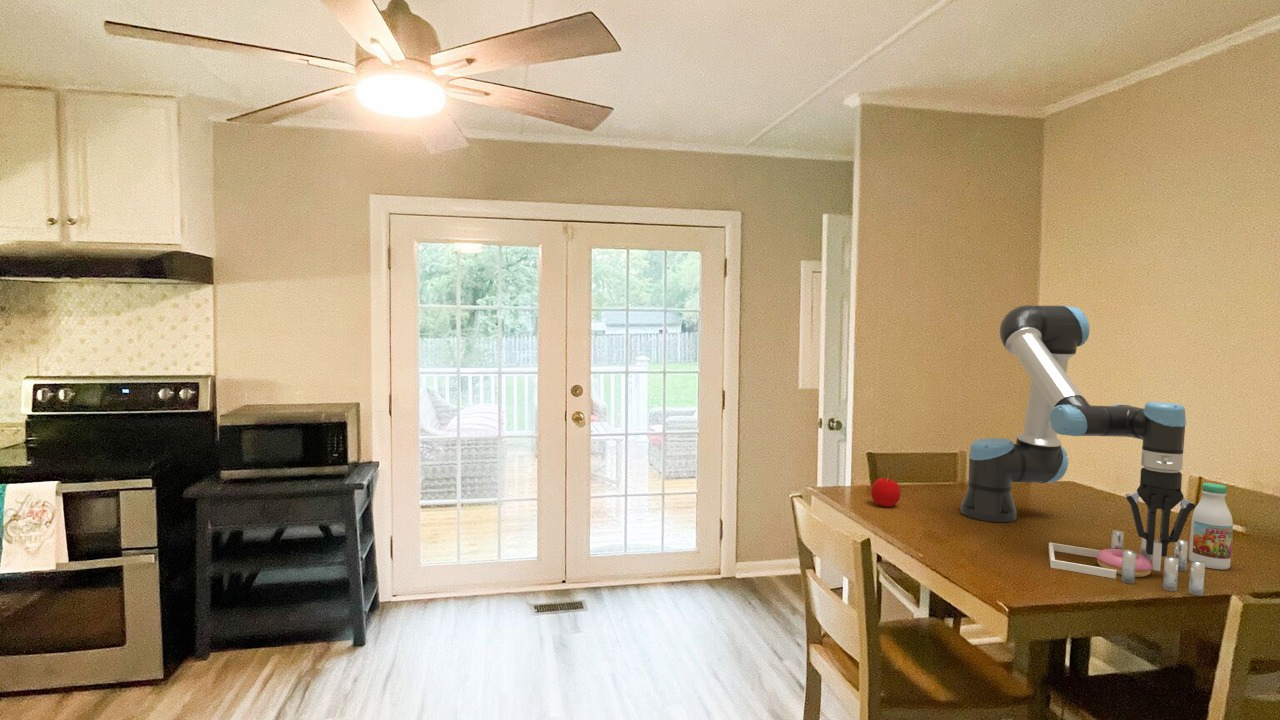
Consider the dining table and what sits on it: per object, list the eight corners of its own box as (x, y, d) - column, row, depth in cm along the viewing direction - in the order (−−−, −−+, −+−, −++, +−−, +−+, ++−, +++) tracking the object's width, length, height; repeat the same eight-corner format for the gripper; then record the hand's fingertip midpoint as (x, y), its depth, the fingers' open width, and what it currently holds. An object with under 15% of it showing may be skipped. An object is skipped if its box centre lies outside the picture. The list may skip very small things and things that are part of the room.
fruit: (904, 509, 206) (906, 478, 205) (875, 509, 206) (877, 477, 205) (893, 501, 215) (895, 471, 215) (866, 501, 215) (867, 471, 215)
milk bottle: (1180, 559, 165) (1185, 480, 164) (1208, 559, 166) (1213, 480, 165) (1209, 570, 158) (1215, 488, 156) (1239, 570, 158) (1244, 488, 157)
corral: (1050, 567, 157) (1051, 560, 157) (1048, 549, 171) (1048, 542, 171) (1116, 578, 151) (1116, 571, 151) (1108, 558, 164) (1109, 551, 164)
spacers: (1119, 581, 149) (1121, 551, 149) (1109, 556, 166) (1111, 529, 165) (1204, 596, 142) (1206, 564, 141) (1185, 568, 158) (1187, 540, 158)
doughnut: (1085, 565, 159) (1086, 548, 159) (1113, 559, 164) (1114, 543, 164) (1134, 582, 149) (1135, 564, 149) (1162, 575, 154) (1164, 558, 154)
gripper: (1129, 468, 152) (1123, 568, 154) (1201, 475, 146) (1194, 579, 147) (1124, 463, 159) (1119, 558, 160) (1193, 469, 152) (1187, 569, 154)
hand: (1155, 568), depth 154 cm, fingers closed
